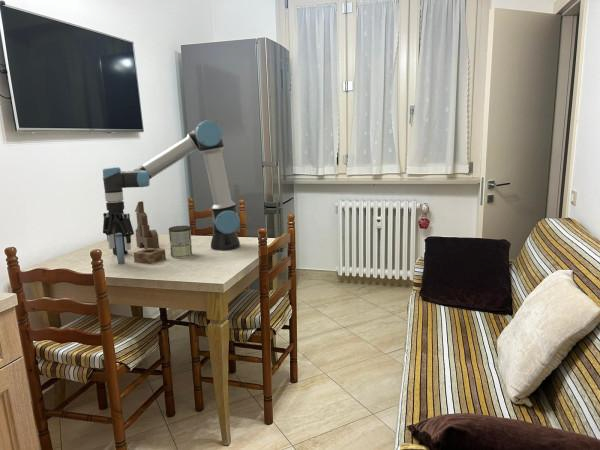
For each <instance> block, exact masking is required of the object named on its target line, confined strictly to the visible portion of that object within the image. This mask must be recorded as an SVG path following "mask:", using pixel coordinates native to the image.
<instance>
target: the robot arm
mask: <svg viewBox="0 0 600 450" xmlns="http://www.w3.org/2000/svg"><path fill="white" fill-rule="evenodd" d="M224 149H225V145H224V141H223V130H222V128H221V126H220V125H219V124H218V122H216V121H214V120H213V119H212V120H210V119H205V120H202V121H200V122H199V123H198V125H196V127H195V128H194V129H192V130H191V131H190V132H188V133H187V134H186V137H184V138H183V139H181V140H180V141H178V142H176V143H175V144H173V145H172V146H170V147H169V148H167V149H165V150H164V151H162V152H161V153H159V154H157V155H156V156H155V157H152V158H151V159H149V160H148V161H146V162H145V163H143V164H142V165H140V166H138V167H137V168H135V169H133V170H128V171H123V170H121V168H120V167H119V166H118V167H117V166H115V167H113V166H111V167H108V166H107V167H104V168H103V169H102V181H103V187H104V188H103V189H104V197H105V198H104V199H105V201H106V203H105V206H106V211H108V212H103V214H102V215H103V216H102V217H103V225H102V234H105V235H106V241H107V242H108V243H107V244H108V249H109V250H113V248H115V245H114V236H113V233H112V231H113V228H114V225H115V222H118V224H120V226H121V228H122V230H123V232H124V234H125V236H124V242H125V251H131V250H132V245H131V243H132V236H133V235H135V231H134V228H133V225H132V222H131V217H130V215H131V214H130V213H125V212H124V210H125V201H124V191H123V189H126V188H127V189H128V188H145V187H146V188H147V187H149V186H151V184H150V181H151V179H153V178H154V177H156V176H157V175H158V174H161V173H162V172H164V171H165V170H167V169H168V168H169V167H171V166H173V165H174V164H177V162H179V161H181V160H183V159H185V158H186V157H187V156H189V155H191V153H193V152H195V151H196V152H197V151H198V152H199V153H201V154H202V155H203V159H204V163H205V167H206V171H207V172H206V173H207V177H208V178H207V179H208V181H209V186H210V192H211V197H212V200H213V204H212V205H211V216H212V230H213V231H212V232H213V233H212V237H211V241H210V248H211V249H212V250H216V251H228V250H234V249H238V248H240V246H241V245H240V244H241V241H240V239H239V236H238V234H237V232H236V231H237V229H239V227H240V224H241V218H240V216H239V214H238V209H237V206H236V202H234V201H233V200H232V196H231V191H230V186H229V182H228V176H227V171H226V167H225V162H224V158H223V157H224V156H223V150H224Z"/></svg>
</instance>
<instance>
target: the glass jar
mask: <svg viewBox="0 0 600 450" xmlns="http://www.w3.org/2000/svg"><path fill="white" fill-rule="evenodd" d="M168 232H169V233H168V234H169V244H170V245H169V247H170V257H171V258H173V259H185V258H189V257H191V256H193V248H192V246H193V245H192V234H191V226H190V225H176V226H175V225H174V226H170V227H169V228H168Z"/></svg>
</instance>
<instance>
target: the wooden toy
mask: <svg viewBox="0 0 600 450" xmlns="http://www.w3.org/2000/svg"><path fill="white" fill-rule="evenodd" d="M134 212H135V216H136V222H137V223H136V224H137V226H136V227H137V228H136V229H135V231H134V232H135V240H136V247H138V248H144V249H147V248H155V249H160V243H159V242H160V241H159V234H158V232H157V230H156V229H150V225H149V222H148V215H147V213H146V212H145V207H144V201H143V200H142V201H138V202H137V205H136V207H135V210H134ZM143 246H144V247H143Z"/></svg>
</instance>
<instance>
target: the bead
mask: <svg viewBox="0 0 600 450" xmlns="http://www.w3.org/2000/svg"><path fill="white" fill-rule="evenodd" d="M166 257H167V256H166V249H163V248H157V249H155V248H147V249H145V248H144V249H141V250H138V251H135V252H133V260H134V261H133V262H134V263H137V264H138V263H140V264H147V265H148V264H149V265H152V264H155V263H158V262H160V261H162V260H165V259H167V258H166Z"/></svg>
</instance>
